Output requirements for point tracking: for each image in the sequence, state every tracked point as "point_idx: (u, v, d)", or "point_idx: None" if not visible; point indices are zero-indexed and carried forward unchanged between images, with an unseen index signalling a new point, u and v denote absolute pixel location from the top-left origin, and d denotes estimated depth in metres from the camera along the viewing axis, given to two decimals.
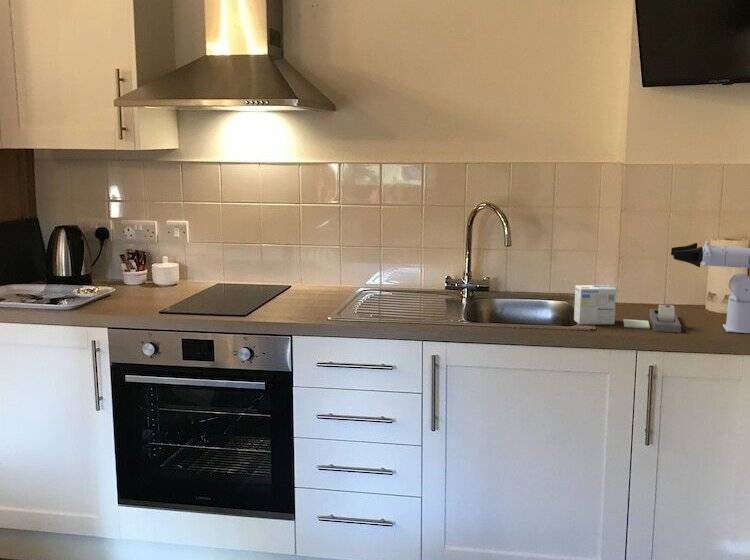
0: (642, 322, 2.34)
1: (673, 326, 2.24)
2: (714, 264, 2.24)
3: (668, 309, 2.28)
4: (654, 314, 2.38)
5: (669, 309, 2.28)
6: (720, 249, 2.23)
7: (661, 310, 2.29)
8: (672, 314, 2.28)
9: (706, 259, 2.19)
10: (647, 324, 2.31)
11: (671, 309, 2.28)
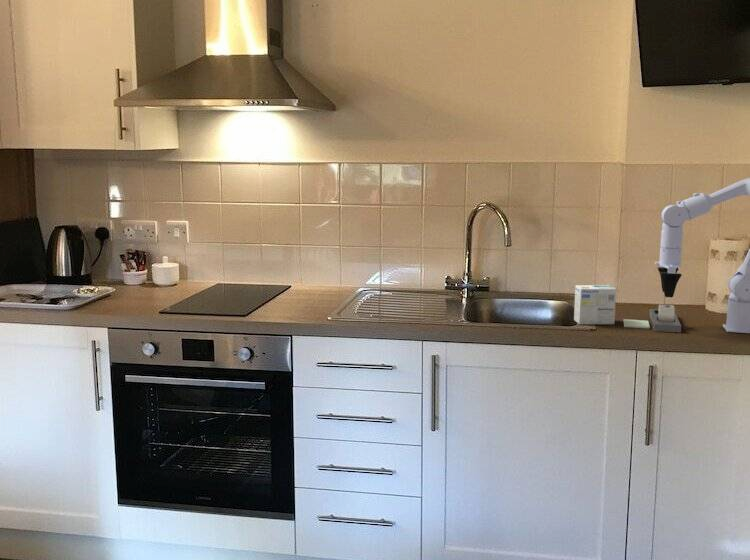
0: (642, 322, 2.34)
1: (673, 326, 2.24)
2: (679, 257, 2.25)
3: (668, 309, 2.28)
4: (654, 314, 2.38)
5: (669, 309, 2.28)
6: (663, 252, 2.26)
7: (661, 310, 2.29)
8: (672, 314, 2.28)
9: (672, 270, 2.21)
10: (647, 324, 2.31)
11: (671, 309, 2.28)
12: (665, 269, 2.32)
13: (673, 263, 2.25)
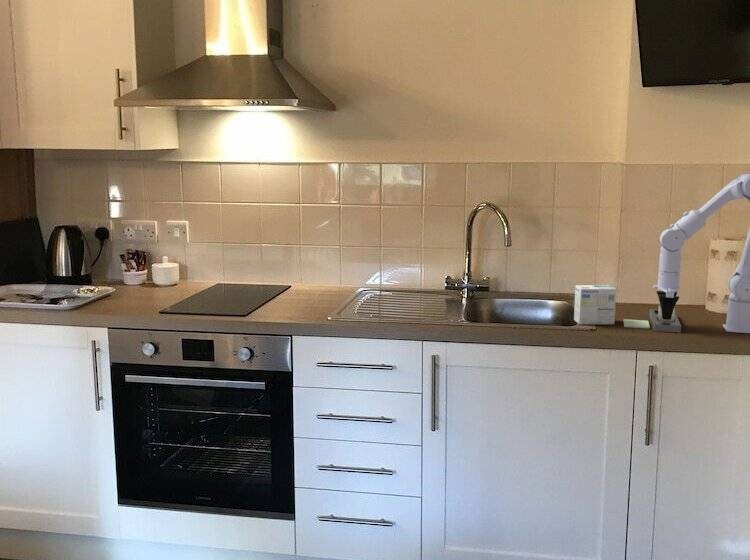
0: (642, 322, 2.34)
1: (673, 326, 2.24)
2: (677, 281, 2.27)
3: None
4: (654, 314, 2.38)
5: None
6: (661, 276, 2.27)
7: (661, 310, 2.29)
8: (672, 314, 2.28)
9: (670, 294, 2.22)
10: (647, 324, 2.31)
11: None
12: (664, 293, 2.32)
13: (671, 287, 2.26)
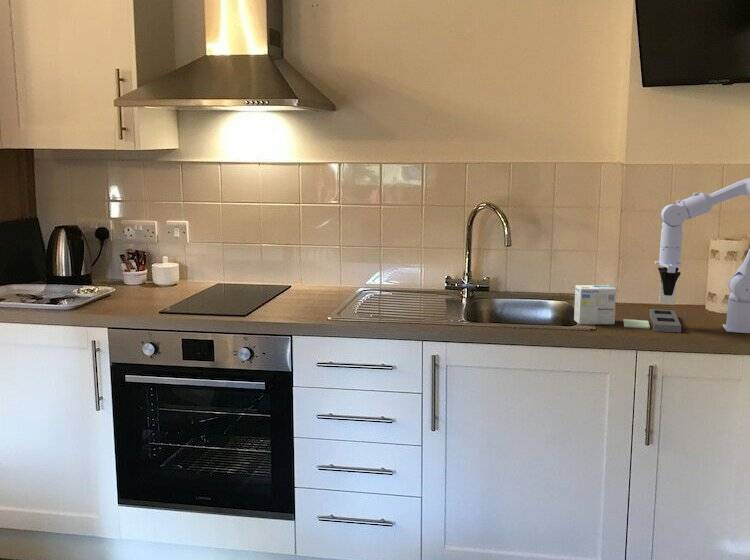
0: (642, 322, 2.34)
1: (673, 326, 2.24)
2: (678, 256, 2.25)
3: None
4: (654, 314, 2.38)
5: None
6: (662, 252, 2.26)
7: (662, 286, 2.28)
8: None
9: (672, 269, 2.21)
10: (647, 324, 2.31)
11: None
12: (665, 269, 2.31)
13: (673, 262, 2.25)
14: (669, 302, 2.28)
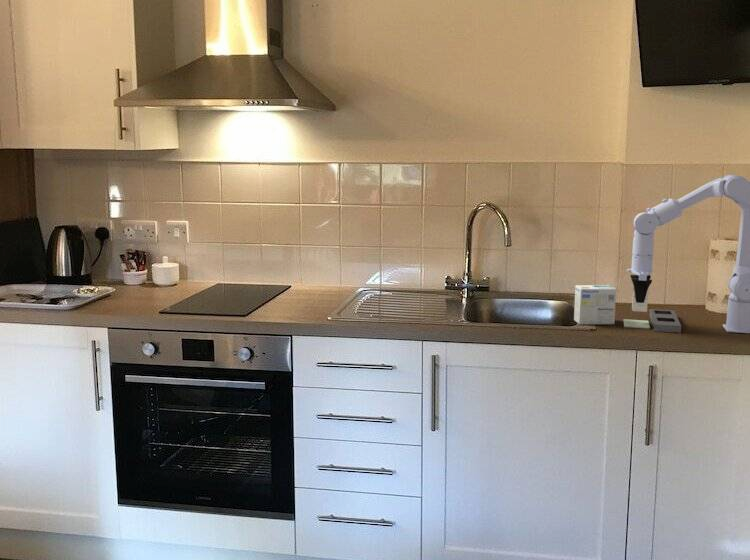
0: (642, 322, 2.34)
1: (673, 326, 2.24)
2: (650, 264, 2.28)
3: None
4: (654, 314, 2.38)
5: None
6: (634, 259, 2.28)
7: None
8: (646, 297, 2.29)
9: (643, 277, 2.23)
10: (647, 324, 2.31)
11: None
12: (638, 277, 2.33)
13: (644, 270, 2.27)
14: (642, 309, 2.30)
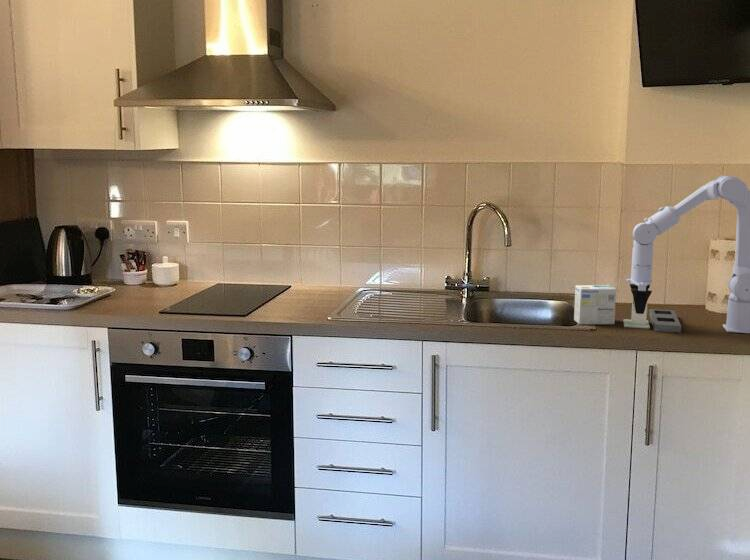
0: None
1: (673, 326, 2.24)
2: (649, 274, 2.28)
3: None
4: (654, 314, 2.38)
5: None
6: (634, 269, 2.29)
7: (634, 306, 2.31)
8: (645, 310, 2.30)
9: (642, 287, 2.24)
10: (647, 324, 2.31)
11: None
12: (637, 286, 2.35)
13: (644, 280, 2.28)
14: (641, 322, 2.31)
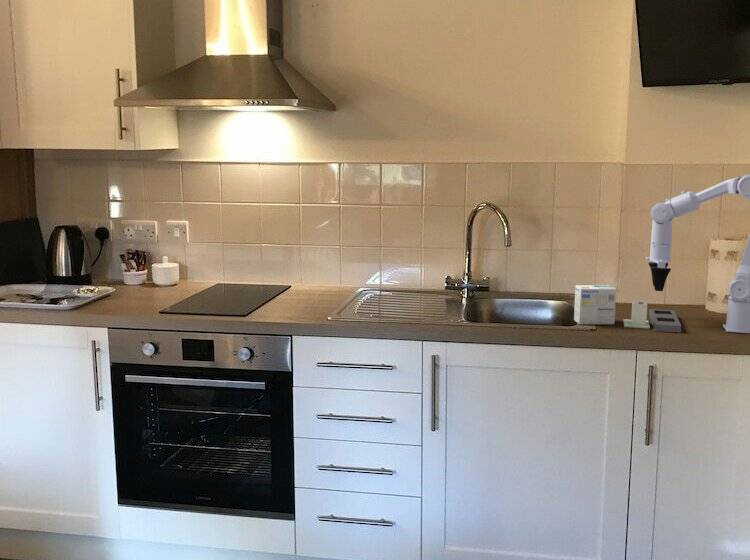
0: None
1: (673, 326, 2.24)
2: (668, 252, 2.34)
3: (641, 306, 2.30)
4: (654, 314, 2.38)
5: (642, 306, 2.30)
6: (653, 248, 2.35)
7: (634, 306, 2.31)
8: (645, 310, 2.30)
9: (662, 265, 2.30)
10: (647, 324, 2.31)
11: (644, 306, 2.30)
12: (655, 264, 2.41)
13: (663, 258, 2.34)
14: (641, 322, 2.31)
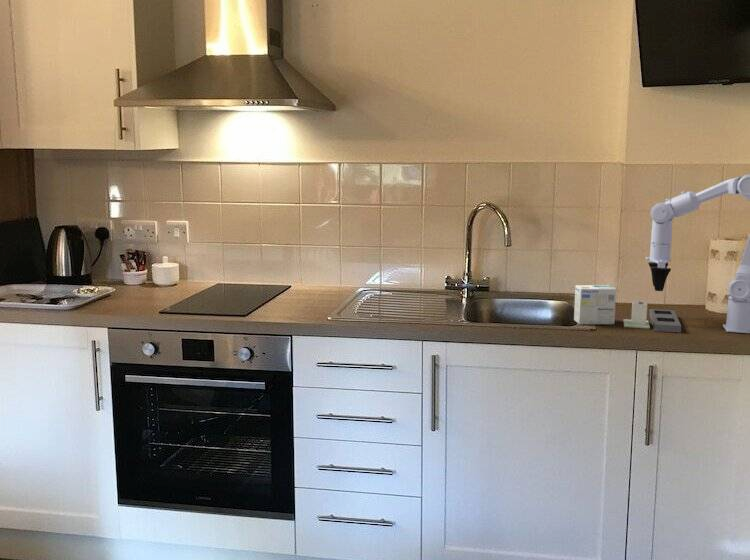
0: None
1: (673, 326, 2.24)
2: (668, 252, 2.34)
3: (641, 306, 2.30)
4: (654, 314, 2.38)
5: (642, 306, 2.30)
6: (653, 248, 2.35)
7: (634, 306, 2.31)
8: (645, 310, 2.30)
9: (662, 265, 2.30)
10: (647, 324, 2.31)
11: (644, 306, 2.30)
12: (655, 264, 2.41)
13: (663, 258, 2.34)
14: (641, 322, 2.31)
